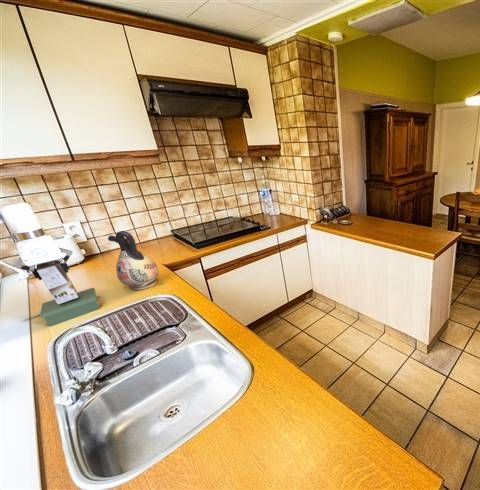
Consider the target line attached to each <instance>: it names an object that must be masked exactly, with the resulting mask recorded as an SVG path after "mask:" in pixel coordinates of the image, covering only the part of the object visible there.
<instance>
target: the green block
mask: <svg viewBox="0 0 480 490" xmlns="http://www.w3.org/2000/svg"><path fill="white" fill-rule="evenodd" d="M77 295H78V298H75V299H72V300H69V301H66V302H64V303H61V304H57V302H56V301H55V299H52V300H49V301H45V302H43V303H42V304H41V308H40V312H39V316H40V317H41V319H44V320H45V322H46V323H47V324H48V326H49V327H52V326H55V325H58V324H61V323H63V322H66V321H69V320H72V319H75V318H78V317H80V316H83V315H87V314H89V313H93V312H95V311H98V310H100V308H101V307H100V305H99V304H98V302H97V301H99V297H98V295H97V292H96V289H95V287H91V288H90V287H89V288H88V289H84V290H81V291H77Z"/></svg>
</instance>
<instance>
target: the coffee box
mask: <svg viewBox="0 0 480 490" xmlns="http://www.w3.org/2000/svg"><path fill="white" fill-rule="evenodd" d="M35 268H36V271H37V272H38V273H39V275H40V277H41V278H42V280H41V281H43V283H44V285H45V286H46V288H47V290H48V291H49V293H50V295H51V296H52V298H53V300H55V301H56V302H57V304H61V303H64V302H66V301H69V300H72V299H75V298H78V295H77V293H78V291H77V288H76V287H75V285H74V284H73V282H72V280H71V279H70V277H69V275H68V273H65V271H64V270H63V268H62V266H61V262H59V261H57V260H53V261H49V262H45V263H41V264H37V265H36V266H35Z"/></svg>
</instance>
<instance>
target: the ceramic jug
mask: <svg viewBox="0 0 480 490" xmlns="http://www.w3.org/2000/svg"><path fill="white" fill-rule="evenodd" d="M107 241H108V242H114V243H116V244H118V245H119V248H120V252H119V255H118V258H117V261H116V266H115V270H116V271H115V272H116V276H117V279H118V281H119V283H121V284H122V285H124V286H126V287H129V288H131V289H133V290H135V291H140V290H146V289H148V288H151V287H153V286H154V285H155V284H156V283H157V278H158V276H159V266H158V264H156V262H155V260H154V259H153V258H151V257H150V256H149V255H147V254H146V253H144V252H142V251H140V250H139V249H138V248H137V244H136V241H135V238H134V236H133V234H131V233H130V232H129V231H125V230H120V231H117V232H116V234H115V235H112V234H111V235H109V236H108V237H107Z"/></svg>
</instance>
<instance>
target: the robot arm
mask: <svg viewBox="0 0 480 490" xmlns="http://www.w3.org/2000/svg"><path fill="white" fill-rule="evenodd" d="M2 224H6V226H7V228H8V230H9V231H10V233H11V234H10V235H7V239H8V240H15V241H13V244H14V247H15V251H16V252H17V254H18V256H19V258H18V259H17V260H16V261H15V262H14V263H13V266H12V267H13V268H16V269H21V270H24V271H27V272H30V273H32V275H33V276H34V278H35V279H38V280H39V281H43V280H42V278H41V277H40V275H39V273H38V272H37V271H36V266H37V264H41V263H45V262H49V261H53V260H57V261H59V262H60V263H61V266H62V268H63V270H64V271H65V273H67V274H68V273H69V270H70V267H69V265H68V264H67V262H68V260H70V258H71V256H72V254H73V250H70V249H67V248H66V249H65V248H61V247H60V246H59V245H58V243H57V242H56V241H55V239H54V238H53V237H52V236H51V235H50V234H47V233H46V232H45V230H44V227H43V226H42V224H41V223H40V221H39V220H38V217H37V216H36V214H35V212H34V210H33V209H32V207H31V206H30V205H29V203H27V202H25V201H18V202H17V201H16V202H10V203H4V204H0V225H2ZM63 254H65V256H63ZM22 263H23V264H22Z"/></svg>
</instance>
